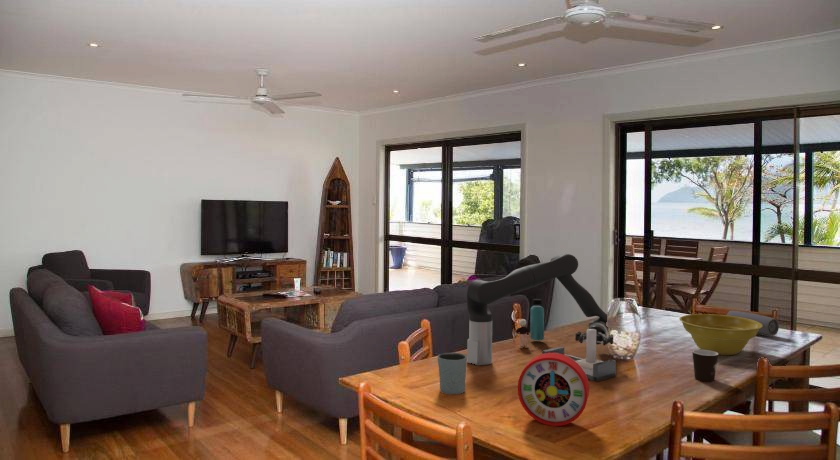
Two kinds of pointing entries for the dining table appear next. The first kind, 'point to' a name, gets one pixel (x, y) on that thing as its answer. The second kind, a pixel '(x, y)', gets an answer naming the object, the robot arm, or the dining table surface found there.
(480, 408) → the dining table surface
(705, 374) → the coffee mug
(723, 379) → the dining table surface
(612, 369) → the gray tray
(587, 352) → the carriage
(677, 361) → the dining table surface
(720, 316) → the planter bowl
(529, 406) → the toy clock
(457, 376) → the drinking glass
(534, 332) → the beverage bottle
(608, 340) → the robot arm
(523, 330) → the grandmother figurine
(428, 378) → the dining table surface
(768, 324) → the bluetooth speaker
